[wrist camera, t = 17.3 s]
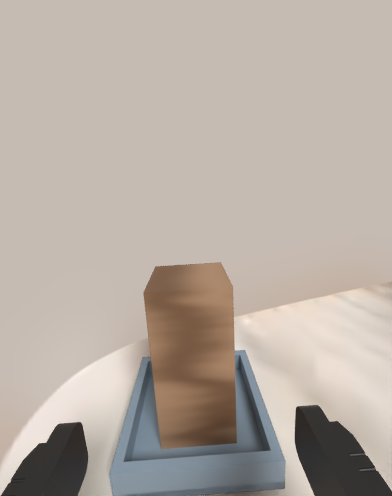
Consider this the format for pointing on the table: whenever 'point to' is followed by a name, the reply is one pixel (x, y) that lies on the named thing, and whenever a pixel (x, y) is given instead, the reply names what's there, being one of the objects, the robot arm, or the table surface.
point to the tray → (201, 457)
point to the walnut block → (192, 354)
